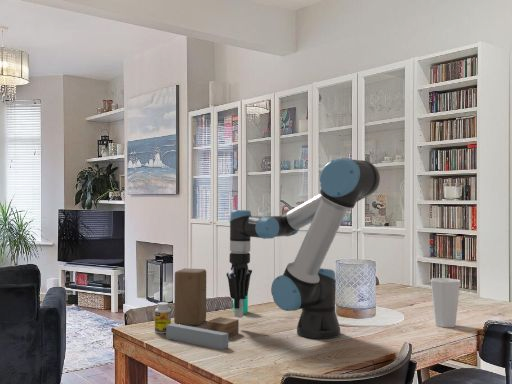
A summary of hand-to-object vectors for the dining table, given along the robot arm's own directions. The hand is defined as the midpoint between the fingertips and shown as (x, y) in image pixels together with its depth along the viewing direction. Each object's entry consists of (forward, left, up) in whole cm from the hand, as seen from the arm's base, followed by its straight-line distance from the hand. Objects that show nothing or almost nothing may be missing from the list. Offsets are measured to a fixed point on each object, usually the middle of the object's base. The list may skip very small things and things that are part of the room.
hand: (238, 316), depth 199 cm
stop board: (0, +24, -4) cm, 24 cm away
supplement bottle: (+19, +20, -4) cm, 28 cm away
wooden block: (+21, +3, -4) cm, 21 cm away
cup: (-60, -49, -4) cm, 78 cm away
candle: (+17, -24, -4) cm, 29 cm away
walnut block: (0, +10, -4) cm, 11 cm away
